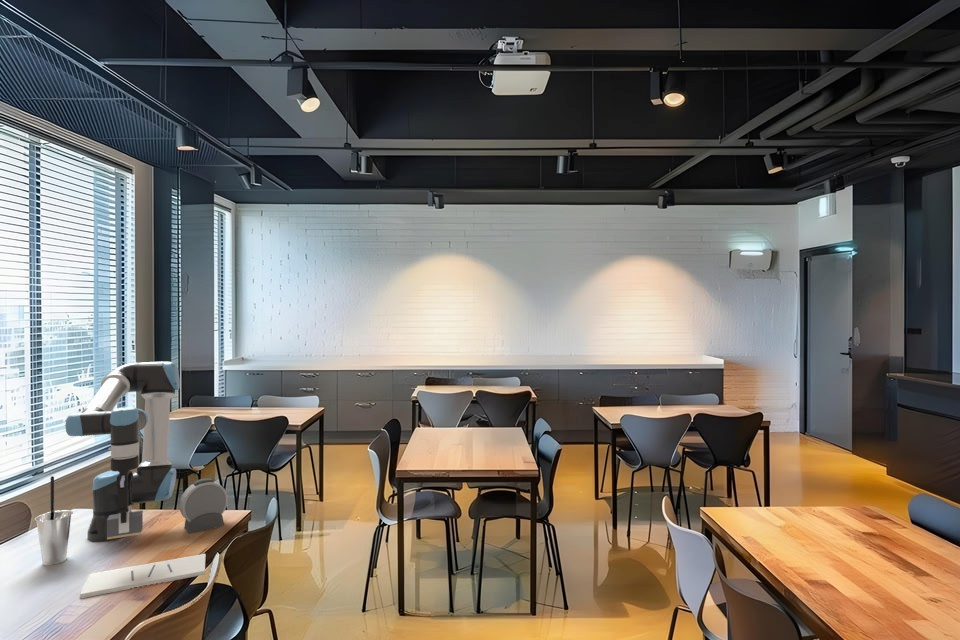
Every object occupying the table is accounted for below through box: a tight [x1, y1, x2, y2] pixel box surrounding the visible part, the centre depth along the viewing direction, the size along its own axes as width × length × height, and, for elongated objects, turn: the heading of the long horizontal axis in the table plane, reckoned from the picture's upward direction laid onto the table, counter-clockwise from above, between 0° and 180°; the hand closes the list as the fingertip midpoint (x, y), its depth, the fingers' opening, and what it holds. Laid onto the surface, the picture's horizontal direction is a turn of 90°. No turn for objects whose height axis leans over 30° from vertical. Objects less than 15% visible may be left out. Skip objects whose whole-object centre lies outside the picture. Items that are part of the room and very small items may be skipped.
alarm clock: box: [179, 477, 229, 534], centre depth 210 cm, size 16×10×18 cm, turn 133°
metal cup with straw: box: [34, 476, 74, 566], centre depth 180 cm, size 11×11×30 cm
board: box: [79, 553, 207, 599], centre depth 169 cm, size 14×32×1 cm, turn 116°
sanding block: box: [107, 510, 144, 540], centre depth 173 cm, size 5×9×6 cm, turn 116°
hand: (125, 529), depth 173 cm, fingers closed on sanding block, 5 cm apart
